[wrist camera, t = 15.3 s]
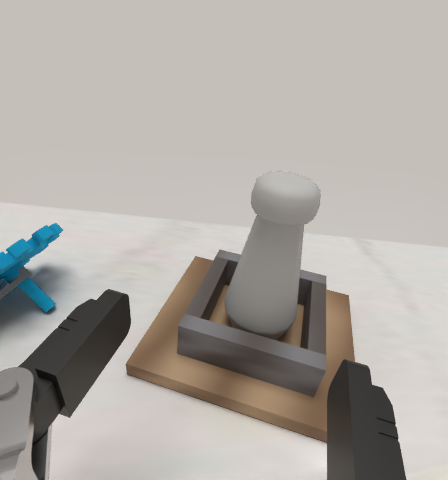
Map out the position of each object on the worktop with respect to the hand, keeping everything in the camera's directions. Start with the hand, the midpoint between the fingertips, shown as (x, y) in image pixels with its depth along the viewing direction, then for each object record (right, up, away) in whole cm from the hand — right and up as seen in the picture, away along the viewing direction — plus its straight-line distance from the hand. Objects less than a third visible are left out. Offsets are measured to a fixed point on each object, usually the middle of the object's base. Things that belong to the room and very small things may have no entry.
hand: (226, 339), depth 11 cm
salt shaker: (+3, -4, +15) cm, 15 cm away
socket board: (+2, -4, +15) cm, 16 cm away
